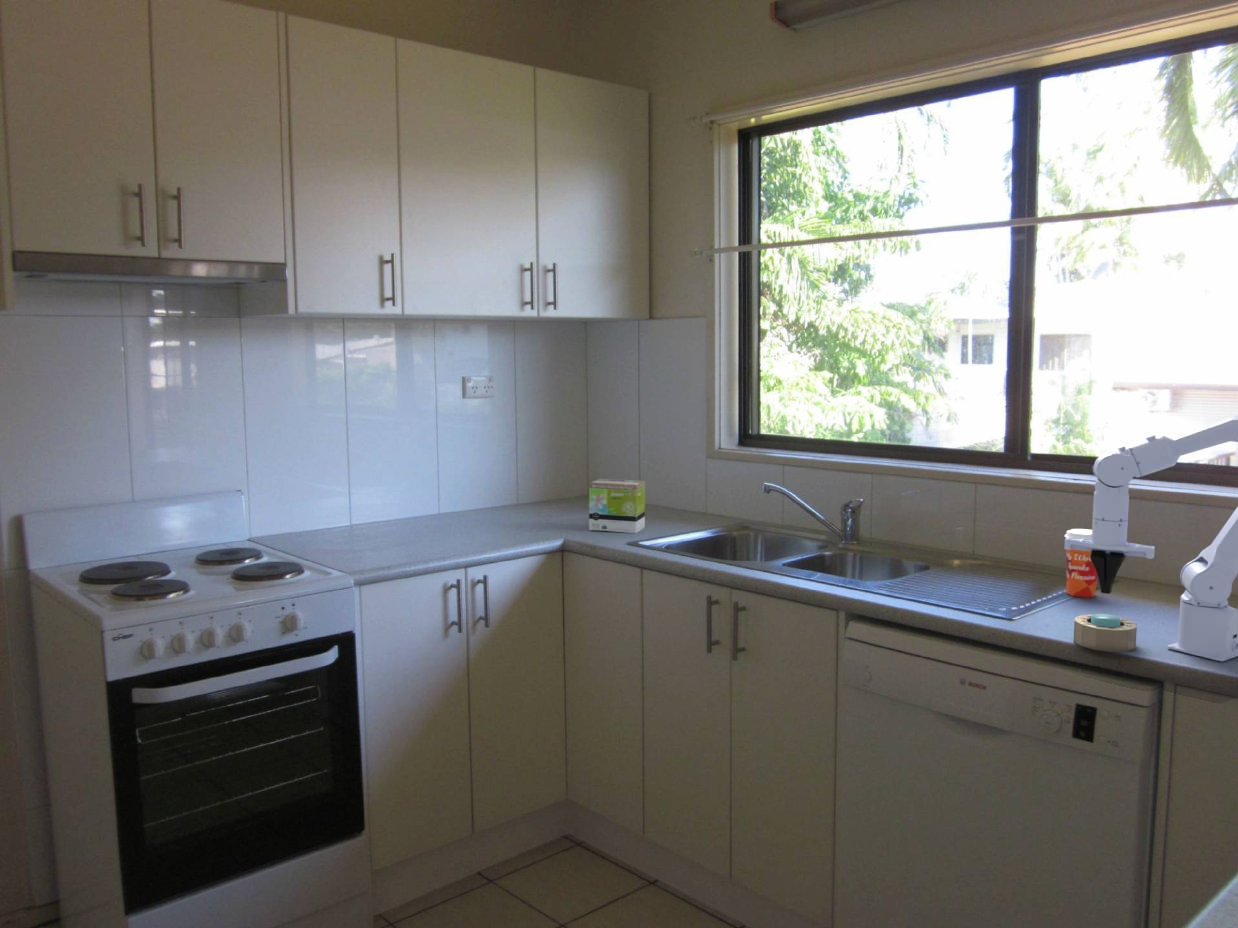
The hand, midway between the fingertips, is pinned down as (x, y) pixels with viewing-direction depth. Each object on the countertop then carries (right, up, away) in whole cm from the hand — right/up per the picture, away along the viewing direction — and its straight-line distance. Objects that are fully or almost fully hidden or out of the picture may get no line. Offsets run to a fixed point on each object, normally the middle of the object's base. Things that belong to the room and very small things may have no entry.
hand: (1106, 592), depth 179 cm
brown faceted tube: (0, -9, 0) cm, 9 cm away
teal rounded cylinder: (0, -10, 0) cm, 10 cm away
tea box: (-89, +3, +116) cm, 146 cm away
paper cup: (+12, -5, +36) cm, 38 cm away
